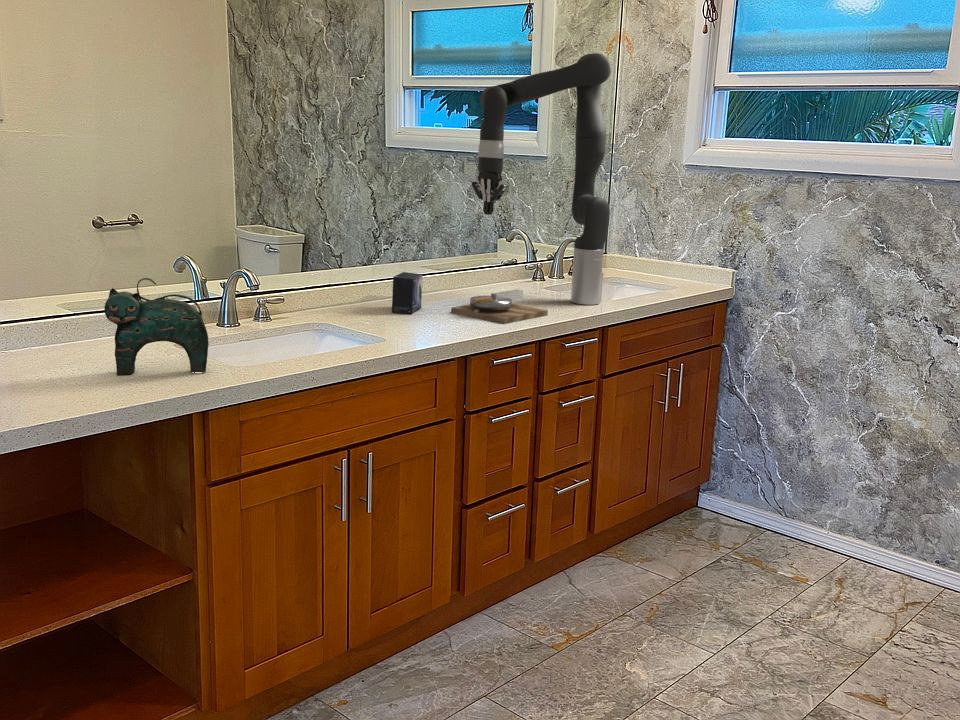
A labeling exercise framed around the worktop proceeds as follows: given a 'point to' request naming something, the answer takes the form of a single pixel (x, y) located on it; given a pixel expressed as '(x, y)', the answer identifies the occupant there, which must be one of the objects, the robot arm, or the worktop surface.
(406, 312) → the small box
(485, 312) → the stand
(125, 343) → the ceramic cat
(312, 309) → the worktop surface
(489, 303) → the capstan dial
